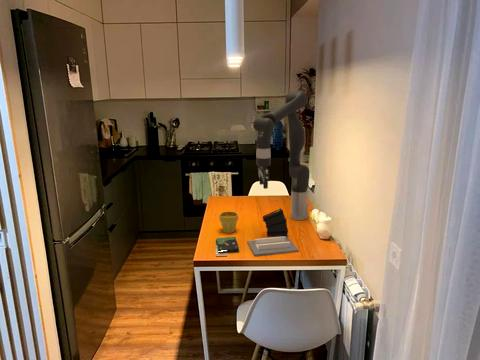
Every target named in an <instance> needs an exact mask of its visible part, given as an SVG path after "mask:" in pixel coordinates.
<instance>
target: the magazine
mask: <svg viewBox="0 0 480 360" xmlns="http://www.w3.org/2000/svg"><path fill="white" fill-rule="evenodd" d="M262 220H263V222H264V223H265V229H266V235H267V237H282V236H285V237H288V233H289V228H288V224H287V222H288V221H287V218H286V216H285V213H284V210H283V209H282V208H278V209H276V210H274V211H271V212H269V213H266V214H265V215H264V214H263V216H262Z"/></svg>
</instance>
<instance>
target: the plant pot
mask: <svg viewBox="0 0 480 360" xmlns="http://www.w3.org/2000/svg"><path fill="white" fill-rule="evenodd" d="M218 216H219V221H220V223H221V227H222V231H223V233H227V234H228V233H229V234H230V233H233V232H235V231H236V227H237V222H238V221H239V213H238V212H236V211H233V210H232V211H231V210H227V211H222V212H220V213H219V214H218Z"/></svg>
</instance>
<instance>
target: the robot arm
mask: <svg viewBox="0 0 480 360" xmlns="http://www.w3.org/2000/svg"><path fill="white" fill-rule="evenodd" d="M308 100H309V99H308V94H307V93H306V92H305V91H301V90H300V91H289V92H287V94H286V96H285V103H284V104H282V105H279V106H276V107H275V108H273V109H272V110H271V111H269V112H267V113H265V114H261V115H260V116H258V117H256V119H254V121H253V124H252V126H253V129H254V131H256V132H262V135H260V136H258V137H257V138H256V156H255V157H256V159H255V160H256V161H255V163H256V166H257V167H258V168H257V170H258V171H257V173H258V174H257V175H258V178H259V185H262V187H263V189H265V190H266V189H268V188H269V182H270V170H269V169H268V167H270V166H271V165H272V164H271V161H272V159H271V158H272V157H271V156H272V155H271V153H272V152H271V138H272V134H273V132H274V126H275V125H277V124H278V123H279V122H281V121H283V119H285V118H286V117H287V122H288V124H287V125H288V142H289V165H288V172H289V176H290V178H292V179H295V180H296V184H293V185H292V186H291V193H290V194H291V195H290V197H291V198H290V199H291V201H290V205H291V206H290V218H291V220H295V221H303V220H307V219H308V209H309V206H308V205H309V204H308V201H307V200H308V197H307V196H308V188H309V185H310V168H309V167H308V166H307V165H304V164H301V153H302V150H303V148H304V146H305V142H306V131H305V128H304V126H303V124H302V123H301V121H300V119H299V117H298V113H297V111H299V110H301V109H303V108H305V107H306V105H307V104H308Z"/></svg>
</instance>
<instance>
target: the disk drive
mask: <svg viewBox="0 0 480 360" xmlns="http://www.w3.org/2000/svg"><path fill="white" fill-rule="evenodd" d="M215 240H216V241H215V242H216V249H217V253H218V255H220V254H221V255H222V254H232V253H233V254H235V253H237V254H238V253H240V247H239V243H238V241H237V237H236V236H226V237H217V238H215ZM217 246H218V247H217ZM221 250H227V251H223V252H218V251H221Z"/></svg>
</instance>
